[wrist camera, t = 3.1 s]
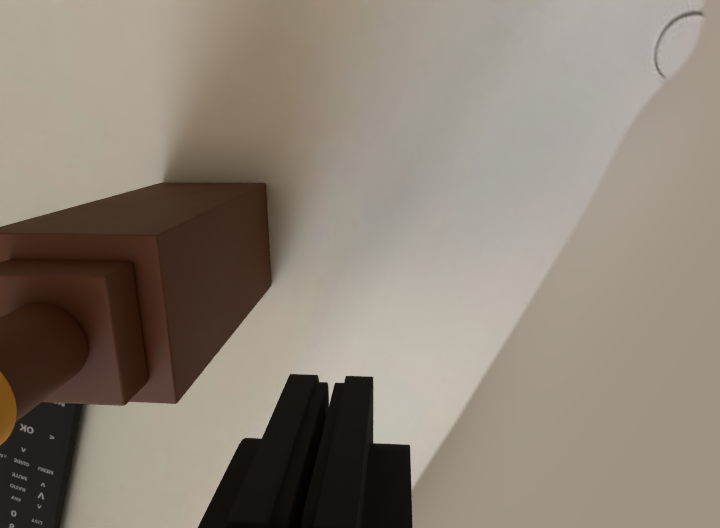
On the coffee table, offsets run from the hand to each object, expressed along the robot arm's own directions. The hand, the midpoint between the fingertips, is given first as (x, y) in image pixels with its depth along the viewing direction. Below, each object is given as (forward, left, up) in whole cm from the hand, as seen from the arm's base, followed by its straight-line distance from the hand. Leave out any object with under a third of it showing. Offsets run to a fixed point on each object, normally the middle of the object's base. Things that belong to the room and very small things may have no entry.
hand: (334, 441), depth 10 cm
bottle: (+9, 0, -17) cm, 19 cm away
